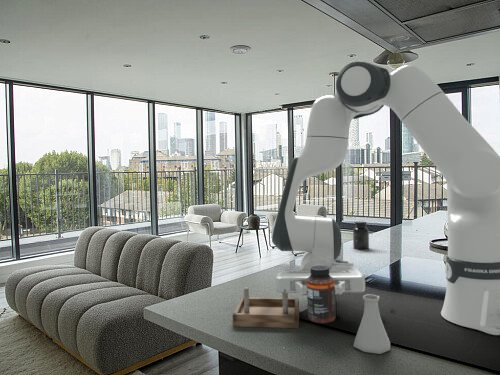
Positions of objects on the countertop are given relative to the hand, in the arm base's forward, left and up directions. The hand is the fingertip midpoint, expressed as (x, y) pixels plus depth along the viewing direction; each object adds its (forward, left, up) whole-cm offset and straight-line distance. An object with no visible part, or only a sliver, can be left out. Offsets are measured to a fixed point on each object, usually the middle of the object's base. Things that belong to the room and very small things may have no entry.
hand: (320, 291), depth 82 cm
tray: (+12, -9, -9) cm, 18 cm away
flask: (-10, +5, -10) cm, 14 cm away
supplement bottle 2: (-23, -95, -10) cm, 98 cm away
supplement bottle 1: (0, -1, -7) cm, 7 cm away
